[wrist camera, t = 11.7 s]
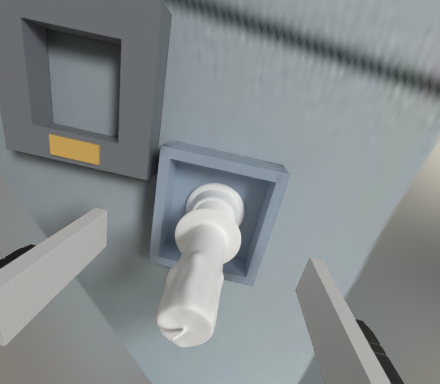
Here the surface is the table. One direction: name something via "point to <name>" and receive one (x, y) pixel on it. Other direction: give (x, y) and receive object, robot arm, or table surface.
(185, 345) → the white cylindrical piece
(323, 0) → the table surface
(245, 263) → the tray
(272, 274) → the table surface
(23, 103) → the socket panel
